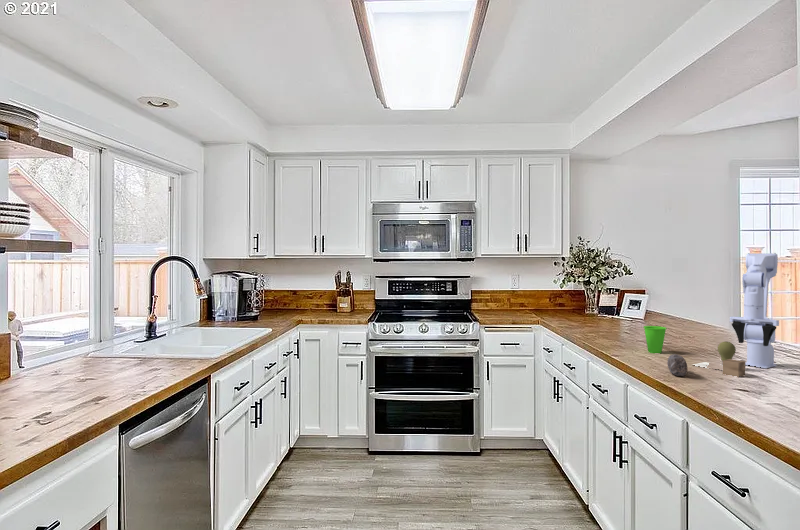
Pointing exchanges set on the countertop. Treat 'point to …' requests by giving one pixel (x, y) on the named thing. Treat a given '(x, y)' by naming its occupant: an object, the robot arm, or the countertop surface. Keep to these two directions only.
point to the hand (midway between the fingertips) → (753, 344)
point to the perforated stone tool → (677, 365)
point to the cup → (654, 338)
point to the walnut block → (734, 367)
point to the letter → (702, 364)
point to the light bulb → (726, 350)
